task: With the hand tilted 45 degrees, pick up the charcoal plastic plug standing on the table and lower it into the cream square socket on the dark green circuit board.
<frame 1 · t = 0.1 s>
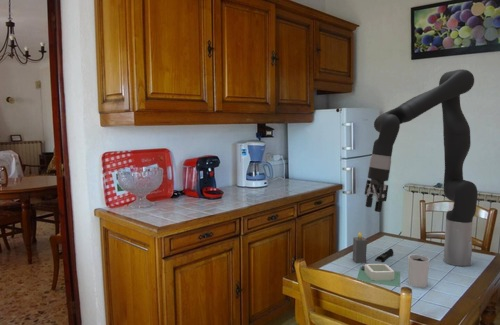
hand: (372, 209, 148), 22 cm above the table, tool pointing down, fingers open, 8 cm apart
plug: (359, 263, 153), on the table
circuit board: (378, 278, 138), on the table
socket: (378, 276, 138), resting on circuit board
electric trimmer: (384, 260, 158), on the table
drinking glass: (417, 287, 131), on the table
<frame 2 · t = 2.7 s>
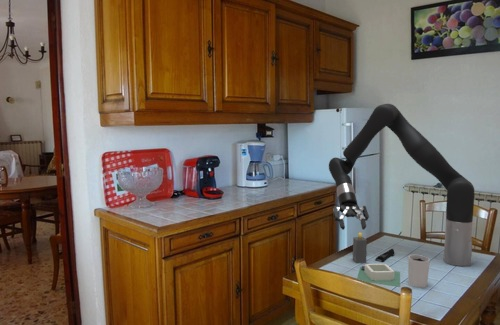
hand: (353, 228, 160), 12 cm above the table, tool tilted 45°, fingers open, 8 cm apart
nothing on the table moved.
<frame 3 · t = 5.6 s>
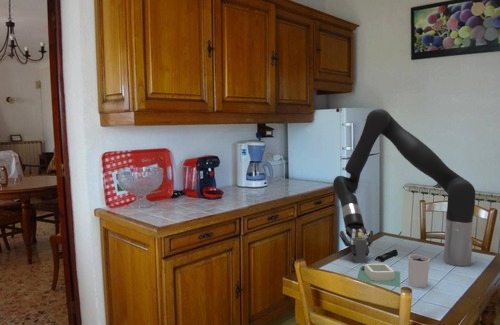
hand: (361, 255, 150), 4 cm above the table, tool tilted 45°, fingers closed on plug, 4 cm apart
plug: (359, 263, 153), on the table, touching gripper
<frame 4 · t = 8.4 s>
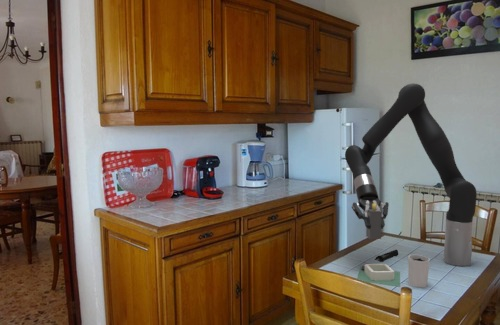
hand: (375, 227, 139), 18 cm above the table, tool tilted 45°, fingers closed on plug, 4 cm apart
plug: (373, 237, 141), point 14 cm above the table, touching gripper
when the fingers open (6 cm above the table, at t = 11.2 s): plug stays where it is, resting on circuit board.
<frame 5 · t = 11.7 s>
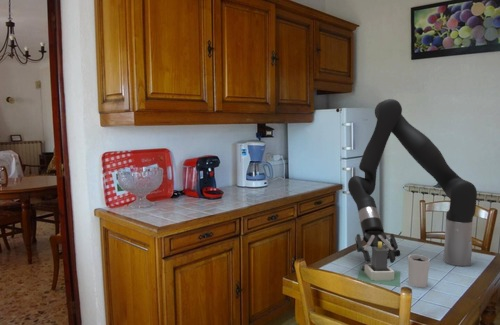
hand: (380, 262, 136), 7 cm above the table, tool tilted 45°, fingers open, 8 cm apart
plug: (378, 276, 138), point 1 cm above the table, touching circuit board
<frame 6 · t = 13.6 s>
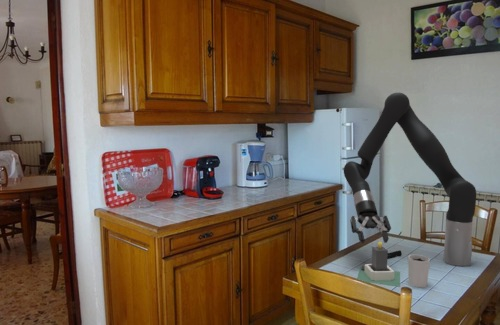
hand: (374, 241, 142), 12 cm above the table, tool tilted 45°, fingers open, 8 cm apart
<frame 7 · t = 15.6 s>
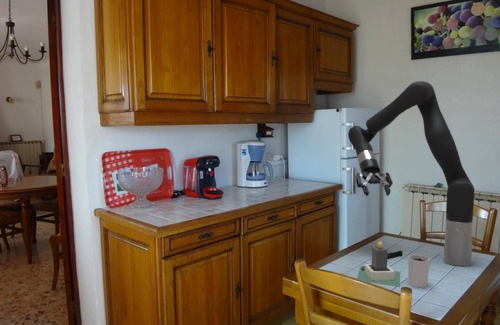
hand: (378, 194, 156), 26 cm above the table, tool tilted 45°, fingers open, 8 cm apart
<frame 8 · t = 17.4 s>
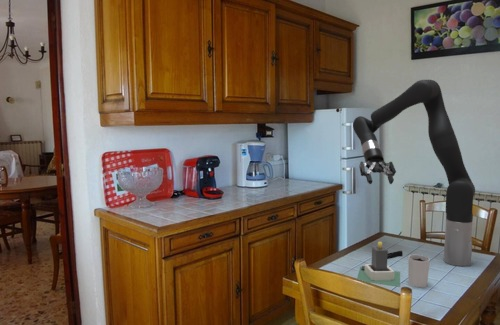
hand: (381, 182, 159), 31 cm above the table, tool tilted 45°, fingers open, 8 cm apart
at the end: plug 0.0 cm off-centre on the socket, point 0.0 cm above the socket's base; plug tilted 0°; the gripper is holding nothing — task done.
